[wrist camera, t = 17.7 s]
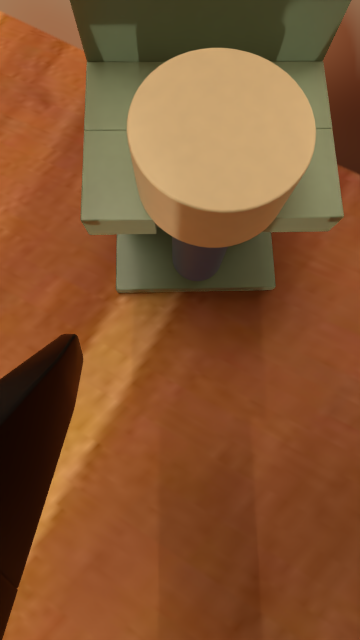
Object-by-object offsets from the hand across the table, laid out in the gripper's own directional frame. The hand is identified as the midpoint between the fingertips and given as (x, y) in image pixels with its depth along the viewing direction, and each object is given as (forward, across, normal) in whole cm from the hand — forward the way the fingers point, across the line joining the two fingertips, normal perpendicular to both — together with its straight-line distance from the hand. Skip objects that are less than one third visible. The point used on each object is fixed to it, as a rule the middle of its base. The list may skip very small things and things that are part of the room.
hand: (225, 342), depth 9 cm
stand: (+14, 0, +2) cm, 14 cm away
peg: (+11, 0, +2) cm, 11 cm away
